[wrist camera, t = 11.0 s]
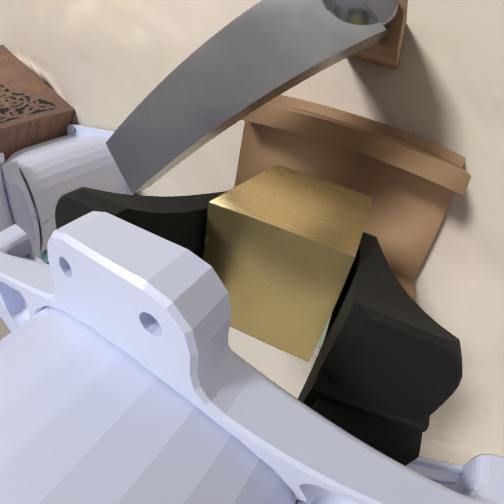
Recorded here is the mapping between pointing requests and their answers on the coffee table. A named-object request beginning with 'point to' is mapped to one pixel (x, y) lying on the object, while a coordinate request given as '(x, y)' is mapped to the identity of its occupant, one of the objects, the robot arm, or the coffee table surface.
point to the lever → (241, 77)
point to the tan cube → (284, 253)
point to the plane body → (363, 162)
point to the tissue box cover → (28, 107)
